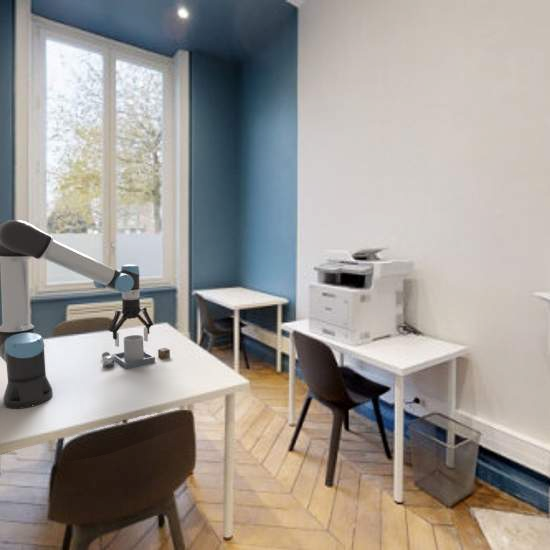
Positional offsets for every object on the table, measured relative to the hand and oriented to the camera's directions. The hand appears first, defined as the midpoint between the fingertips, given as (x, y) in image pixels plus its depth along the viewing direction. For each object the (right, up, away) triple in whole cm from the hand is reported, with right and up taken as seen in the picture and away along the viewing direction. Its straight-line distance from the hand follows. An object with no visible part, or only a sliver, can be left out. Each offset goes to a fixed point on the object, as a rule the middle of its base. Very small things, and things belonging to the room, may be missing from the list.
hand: (131, 343), depth 182 cm
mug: (+1, -8, +2) cm, 8 cm away
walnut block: (+13, -8, +6) cm, 17 cm away
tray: (0, -8, +1) cm, 8 cm away
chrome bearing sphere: (-9, -9, -5) cm, 14 cm away
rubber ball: (-13, -6, +3) cm, 15 cm away
